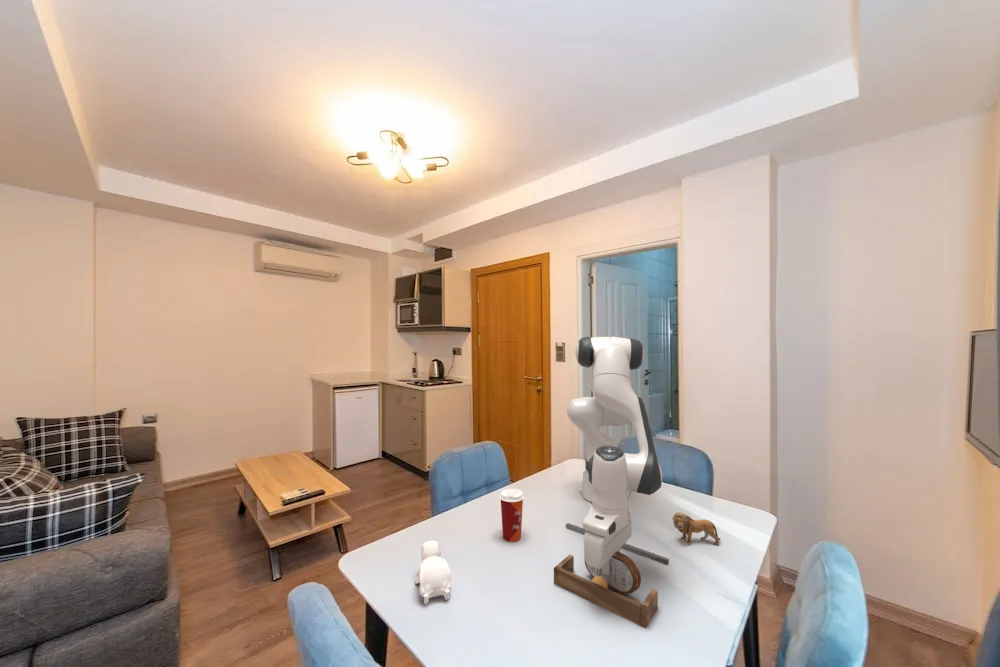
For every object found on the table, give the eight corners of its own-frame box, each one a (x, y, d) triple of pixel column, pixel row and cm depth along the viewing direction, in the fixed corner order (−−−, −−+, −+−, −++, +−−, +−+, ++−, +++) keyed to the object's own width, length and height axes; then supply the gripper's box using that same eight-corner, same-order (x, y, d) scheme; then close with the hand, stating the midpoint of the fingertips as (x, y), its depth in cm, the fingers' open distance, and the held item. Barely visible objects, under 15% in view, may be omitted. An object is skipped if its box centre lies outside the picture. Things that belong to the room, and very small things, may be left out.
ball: (585, 587, 94) (593, 594, 96) (600, 594, 91) (607, 600, 93) (591, 570, 96) (598, 577, 98) (605, 576, 93) (612, 583, 95)
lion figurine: (678, 547, 115) (677, 517, 115) (669, 538, 120) (669, 509, 120) (725, 545, 116) (725, 515, 116) (714, 536, 121) (714, 507, 121)
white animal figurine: (453, 607, 94) (444, 554, 107) (455, 583, 91) (445, 531, 104) (417, 615, 92) (412, 559, 105) (419, 590, 89) (413, 536, 102)
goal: (569, 569, 104) (569, 554, 104) (657, 607, 89) (657, 590, 89) (553, 583, 98) (553, 567, 98) (645, 627, 83) (645, 609, 83)
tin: (641, 598, 92) (642, 561, 92) (634, 602, 90) (635, 564, 90) (588, 569, 103) (590, 537, 104) (581, 573, 101) (583, 539, 102)
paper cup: (522, 545, 116) (522, 498, 117) (497, 542, 118) (497, 496, 118) (525, 532, 124) (525, 488, 124) (502, 529, 126) (502, 486, 126)
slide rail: (567, 526, 128) (567, 522, 128) (668, 563, 107) (668, 558, 107) (565, 528, 127) (565, 524, 127) (667, 565, 106) (667, 560, 106)
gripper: (615, 497, 107) (615, 547, 107) (579, 524, 91) (579, 583, 91) (637, 503, 103) (638, 555, 103) (604, 533, 87) (604, 594, 87)
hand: (610, 568), depth 97 cm, fingers closed on tin, 3 cm apart
